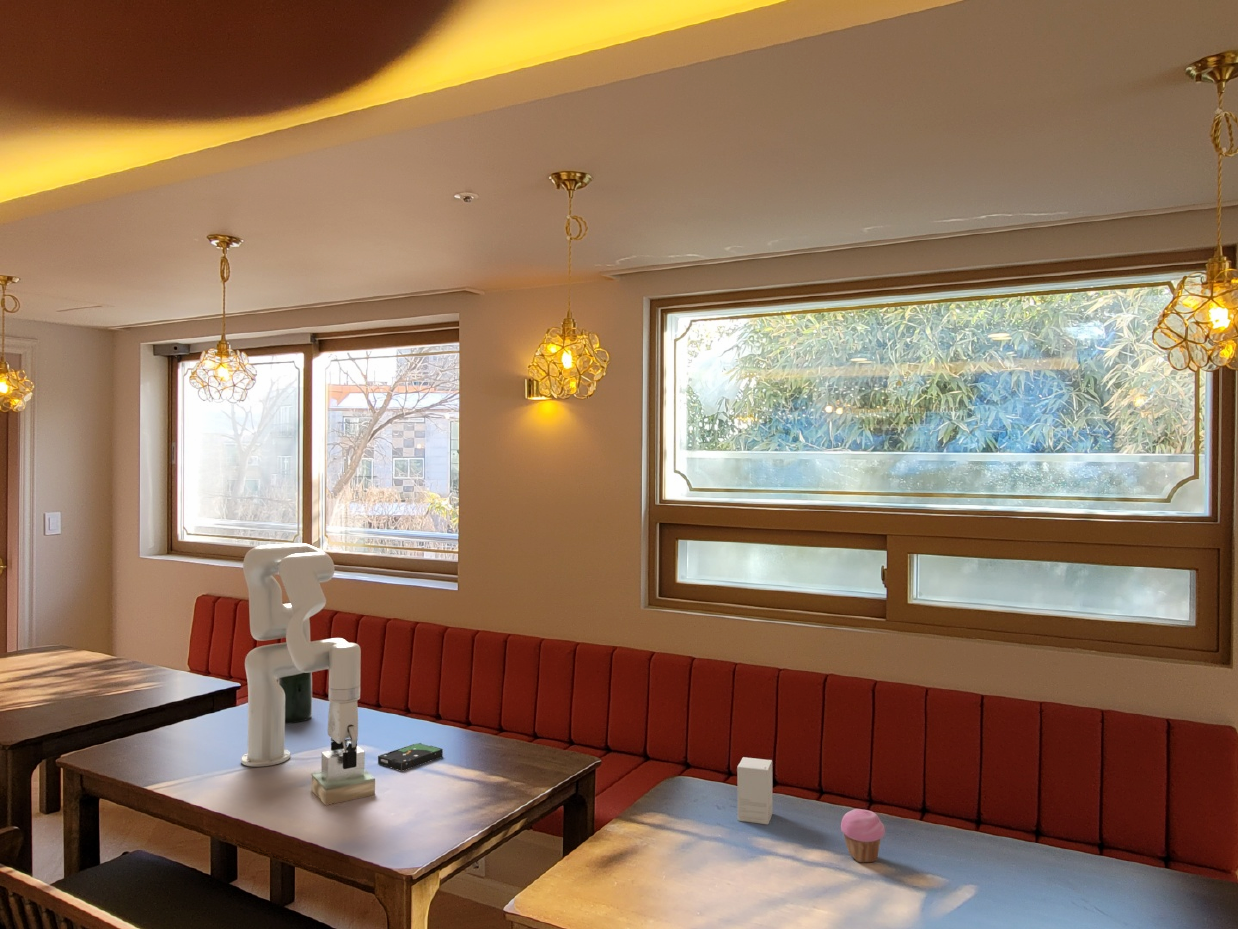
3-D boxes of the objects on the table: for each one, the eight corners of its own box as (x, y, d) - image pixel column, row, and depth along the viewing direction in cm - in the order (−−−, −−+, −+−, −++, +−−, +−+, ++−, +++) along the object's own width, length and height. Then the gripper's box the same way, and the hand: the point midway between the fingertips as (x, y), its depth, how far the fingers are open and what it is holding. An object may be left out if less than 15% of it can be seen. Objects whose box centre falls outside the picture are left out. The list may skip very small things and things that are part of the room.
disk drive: (402, 774, 221) (443, 758, 233) (402, 763, 221) (443, 748, 233) (377, 766, 227) (418, 751, 239) (377, 755, 227) (418, 741, 239)
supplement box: (773, 813, 195) (773, 759, 195) (768, 825, 188) (768, 770, 188) (742, 809, 197) (742, 756, 198) (736, 821, 190) (736, 766, 191)
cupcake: (892, 865, 169) (893, 816, 169) (855, 871, 166) (855, 821, 166) (868, 847, 177) (868, 800, 177) (832, 852, 175) (832, 804, 175)
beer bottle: (318, 715, 272) (319, 615, 272) (299, 724, 262) (300, 620, 262) (290, 713, 274) (292, 614, 275) (270, 722, 264) (271, 619, 265)
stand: (311, 790, 207) (311, 774, 207) (358, 780, 214) (359, 764, 214) (325, 805, 197) (326, 788, 197) (374, 794, 204) (375, 778, 204)
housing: (357, 769, 211) (357, 745, 211) (364, 775, 206) (364, 751, 206) (321, 776, 205) (321, 752, 205) (327, 783, 201) (328, 758, 201)
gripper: (319, 688, 211) (318, 755, 211) (340, 703, 197) (339, 775, 197) (348, 684, 215) (347, 750, 215) (371, 698, 201) (370, 769, 201)
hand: (343, 762), depth 206 cm, fingers open, 9 cm apart
